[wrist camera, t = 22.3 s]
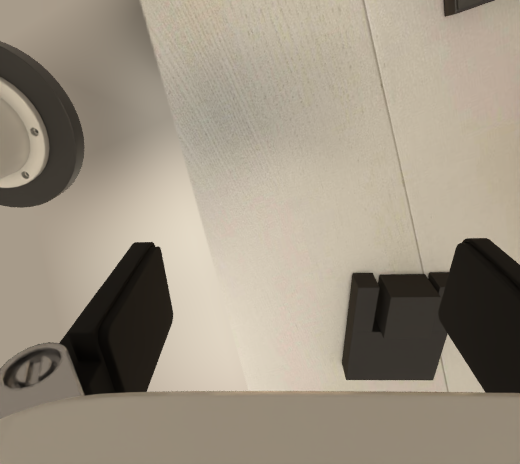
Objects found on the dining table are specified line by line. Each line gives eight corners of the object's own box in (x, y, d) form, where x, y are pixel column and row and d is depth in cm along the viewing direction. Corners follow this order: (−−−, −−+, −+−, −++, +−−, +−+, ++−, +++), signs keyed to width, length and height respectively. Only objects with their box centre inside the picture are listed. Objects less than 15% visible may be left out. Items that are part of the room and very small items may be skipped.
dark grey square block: (373, 314, 45) (383, 338, 41) (379, 274, 42) (391, 297, 38) (415, 313, 45) (429, 338, 41) (424, 274, 42) (441, 296, 38)
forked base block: (341, 362, 49) (346, 380, 47) (352, 273, 42) (358, 287, 39) (424, 362, 49) (433, 380, 46) (449, 272, 42) (462, 287, 39)
